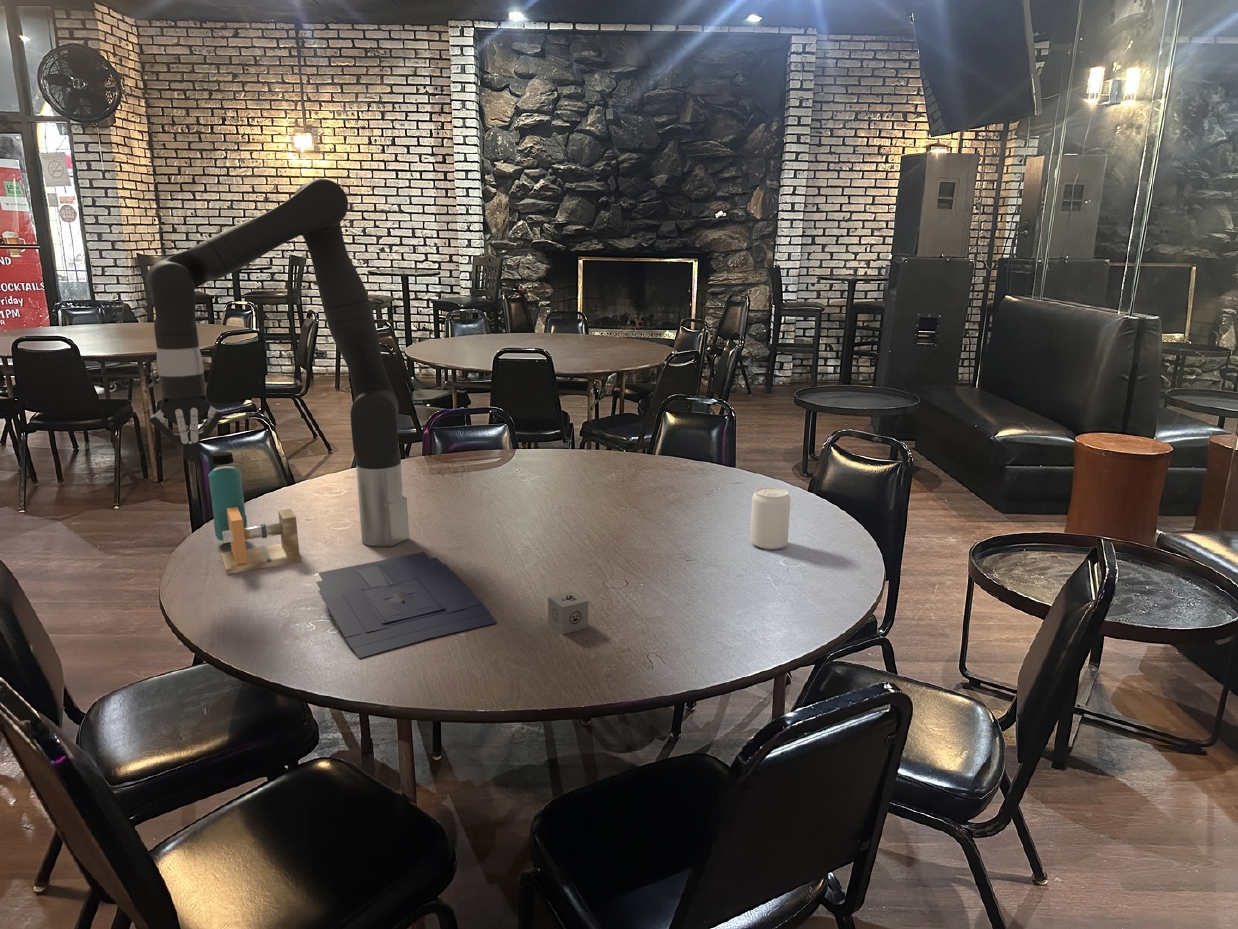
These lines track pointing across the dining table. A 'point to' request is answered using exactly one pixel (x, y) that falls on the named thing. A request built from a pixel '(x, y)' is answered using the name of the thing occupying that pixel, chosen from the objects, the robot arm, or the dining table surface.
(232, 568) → the pipe stand
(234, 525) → the collar
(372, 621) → the dark blue flat slab
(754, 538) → the beverage can
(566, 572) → the dining table surface
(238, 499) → the beverage bottle
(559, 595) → the dice cube
